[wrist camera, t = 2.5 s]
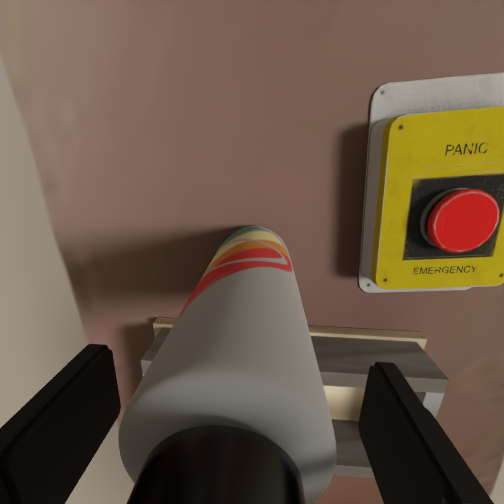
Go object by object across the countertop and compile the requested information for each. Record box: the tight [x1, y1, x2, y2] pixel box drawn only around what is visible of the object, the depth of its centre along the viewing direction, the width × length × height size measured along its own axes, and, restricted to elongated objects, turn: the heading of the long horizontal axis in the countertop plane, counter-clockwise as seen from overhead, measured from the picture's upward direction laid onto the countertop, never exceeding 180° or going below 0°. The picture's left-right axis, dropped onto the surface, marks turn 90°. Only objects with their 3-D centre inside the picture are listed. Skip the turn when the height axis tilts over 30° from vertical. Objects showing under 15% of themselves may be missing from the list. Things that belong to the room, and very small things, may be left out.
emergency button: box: [358, 72, 504, 293], centre depth 17 cm, size 9×4×15 cm
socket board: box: [141, 317, 449, 478], centre depth 23 cm, size 16×23×5 cm
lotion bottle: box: [119, 226, 337, 504], centre depth 11 cm, size 6×6×20 cm
